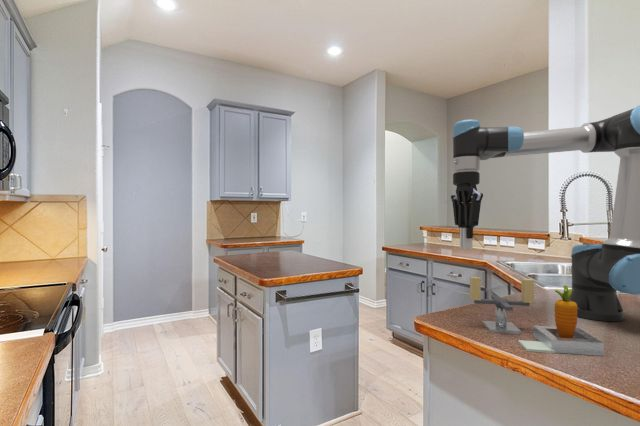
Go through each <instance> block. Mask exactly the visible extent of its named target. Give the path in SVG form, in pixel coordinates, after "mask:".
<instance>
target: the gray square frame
mask: <svg viewBox="0 0 640 426" xmlns="http://www.w3.org/2000/svg"><path fill="white" fill-rule="evenodd" d="M532 331H533V332H532V333H533V335H532V337H533V338H534V339H535V340H536V341H539V342H543V343H544V344H545V345H546V346H548V347H549V348H550V349H551V350H554V351H555V353H554V354H569V355H570V354H571V355H582V356H583V355H585V356H597V357H598V356H599V357H605V355H604V354H605V345H604V342H603V341H601V340H599V339H598V338H596V337H594V336H593V335H591V334H589V333H588V332H586V331H585V330H582V329H581V328H579V327H576V329H575V333H574V336H573V338H560V337H559V334H558V331H557V327H556V326H548V325H547V326H546V325H545V326H544V325H533V326H532Z"/></svg>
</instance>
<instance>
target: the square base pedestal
mask: <svg viewBox="0 0 640 426" xmlns="http://www.w3.org/2000/svg"><path fill="white" fill-rule="evenodd" d="M507 312H508V311H506V310H504V309H503V308H502V307H501V306H498V305H495V320H493V321H492V320H482V324H483V327H485V328H486V329H487V330H488V332H489V333H494V334H495V333H500V334H515V335H522V330H521V329H520V328H519V327H517V326H516V325H515V324H514V323H513V322H511V321H509V322H508V321H507V318H508V317H507Z"/></svg>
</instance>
